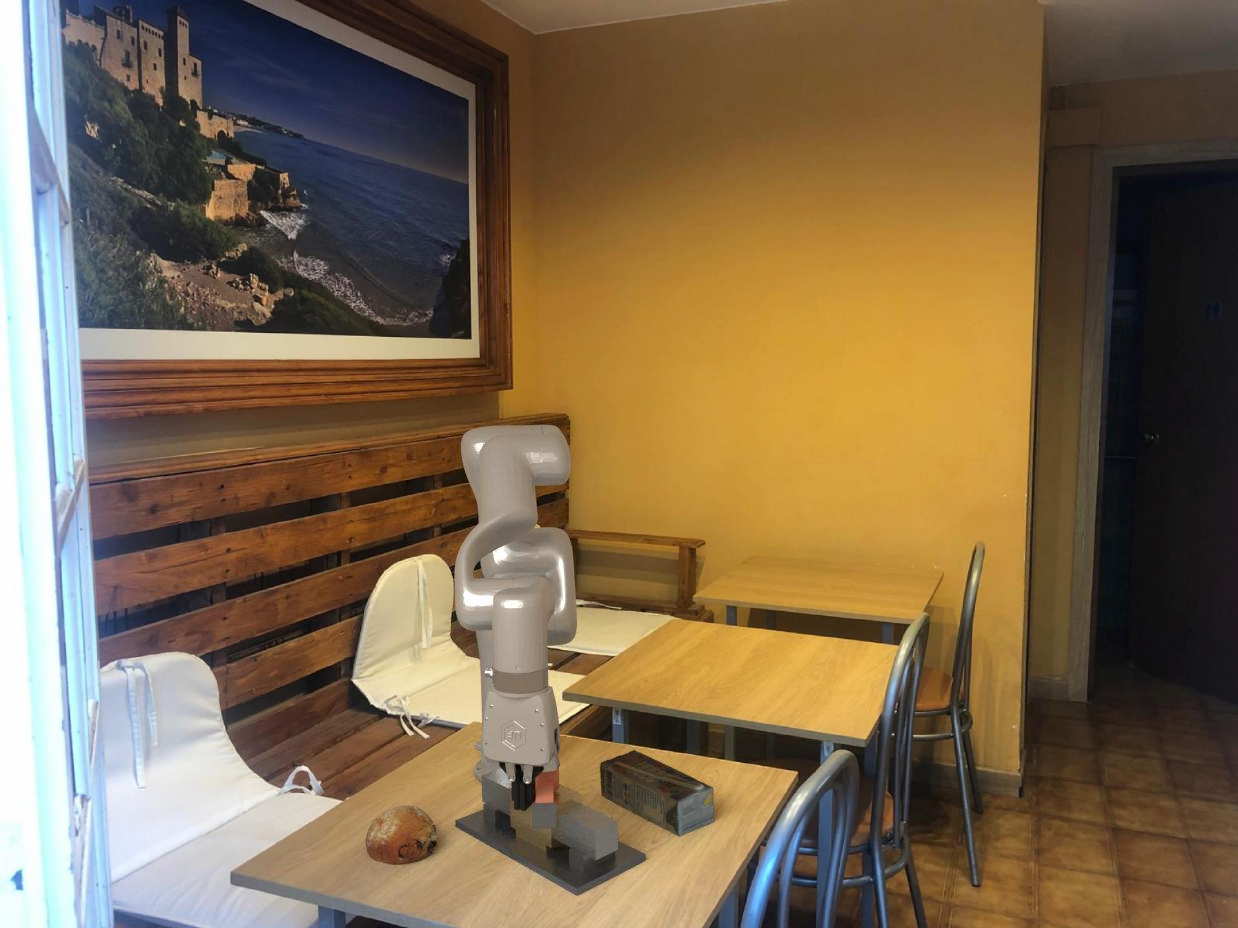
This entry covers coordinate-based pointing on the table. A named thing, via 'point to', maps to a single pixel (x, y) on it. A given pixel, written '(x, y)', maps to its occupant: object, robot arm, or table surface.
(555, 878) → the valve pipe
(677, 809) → the beverage carton
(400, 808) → the bread roll
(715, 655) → the table surface
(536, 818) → the lever
